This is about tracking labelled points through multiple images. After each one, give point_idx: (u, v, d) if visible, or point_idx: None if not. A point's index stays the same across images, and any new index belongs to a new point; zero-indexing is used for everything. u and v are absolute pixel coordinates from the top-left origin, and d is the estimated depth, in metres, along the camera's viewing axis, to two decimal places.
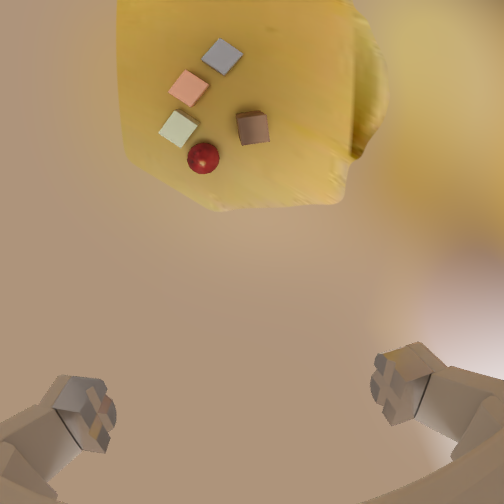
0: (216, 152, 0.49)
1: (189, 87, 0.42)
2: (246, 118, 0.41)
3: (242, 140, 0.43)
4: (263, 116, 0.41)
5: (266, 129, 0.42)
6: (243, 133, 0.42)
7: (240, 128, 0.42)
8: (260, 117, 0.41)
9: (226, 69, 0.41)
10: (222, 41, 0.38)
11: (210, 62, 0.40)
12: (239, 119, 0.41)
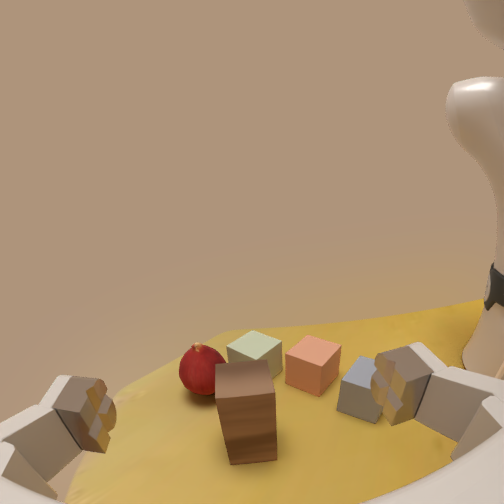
0: (208, 378, 0.29)
1: (314, 350, 0.33)
2: (266, 368, 0.23)
3: (224, 364, 0.23)
4: (271, 388, 0.20)
5: (242, 393, 0.20)
6: (237, 365, 0.23)
7: (247, 362, 0.24)
8: (268, 384, 0.20)
9: (351, 380, 0.26)
10: None
11: (358, 363, 0.29)
12: (265, 360, 0.24)
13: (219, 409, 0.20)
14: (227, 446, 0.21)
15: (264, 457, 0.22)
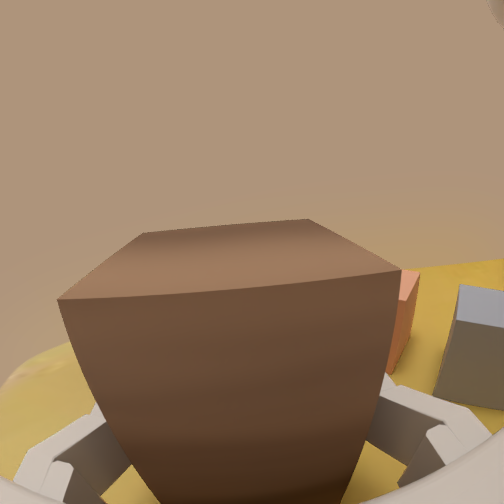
0: None
1: None
2: (316, 228, 0.06)
3: (170, 230, 0.07)
4: (369, 261, 0.04)
5: (211, 283, 0.03)
6: (212, 229, 0.07)
7: (247, 225, 0.07)
8: (349, 251, 0.04)
9: (474, 319, 0.10)
10: None
11: (465, 294, 0.13)
12: (303, 221, 0.07)
13: (94, 379, 0.03)
14: None
15: None
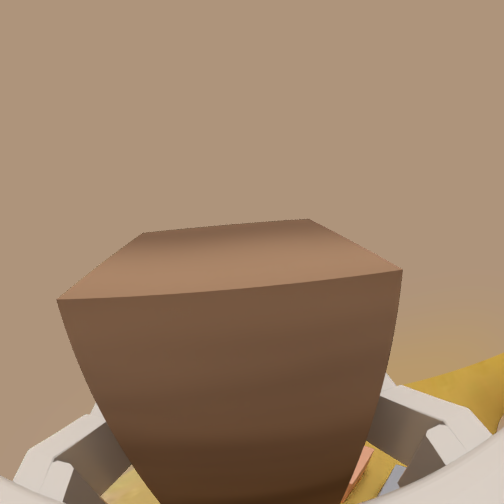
0: None
1: None
2: (316, 228, 0.06)
3: (170, 230, 0.07)
4: (370, 261, 0.04)
5: (211, 283, 0.03)
6: (212, 229, 0.07)
7: (247, 225, 0.07)
8: (350, 251, 0.04)
9: None
10: None
11: (393, 477, 0.18)
12: (304, 221, 0.07)
13: (94, 379, 0.03)
14: None
15: None
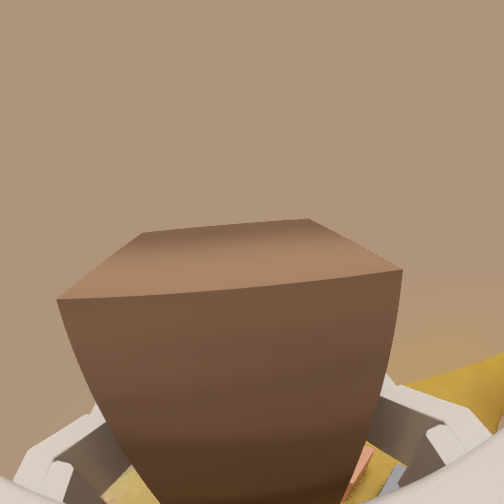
0: None
1: None
2: (316, 227, 0.06)
3: (170, 230, 0.07)
4: (370, 261, 0.04)
5: (211, 283, 0.03)
6: (212, 229, 0.07)
7: (247, 224, 0.07)
8: (350, 251, 0.04)
9: None
10: None
11: (393, 477, 0.18)
12: (304, 221, 0.07)
13: (93, 379, 0.03)
14: None
15: None
